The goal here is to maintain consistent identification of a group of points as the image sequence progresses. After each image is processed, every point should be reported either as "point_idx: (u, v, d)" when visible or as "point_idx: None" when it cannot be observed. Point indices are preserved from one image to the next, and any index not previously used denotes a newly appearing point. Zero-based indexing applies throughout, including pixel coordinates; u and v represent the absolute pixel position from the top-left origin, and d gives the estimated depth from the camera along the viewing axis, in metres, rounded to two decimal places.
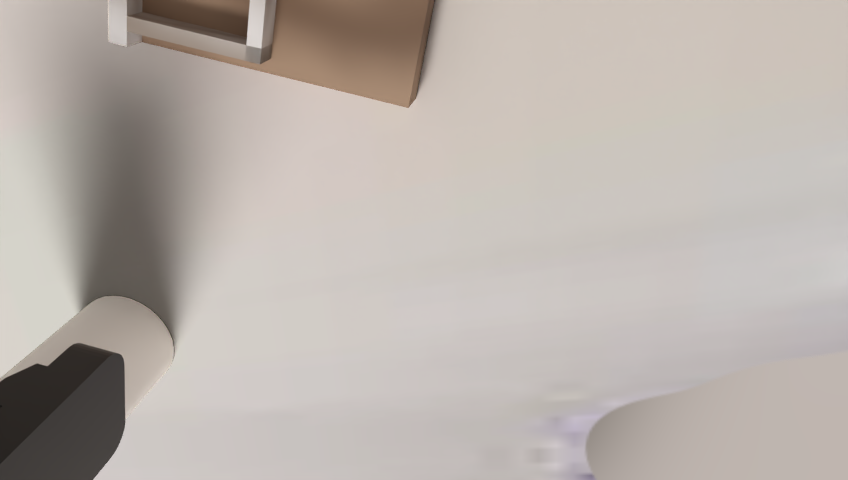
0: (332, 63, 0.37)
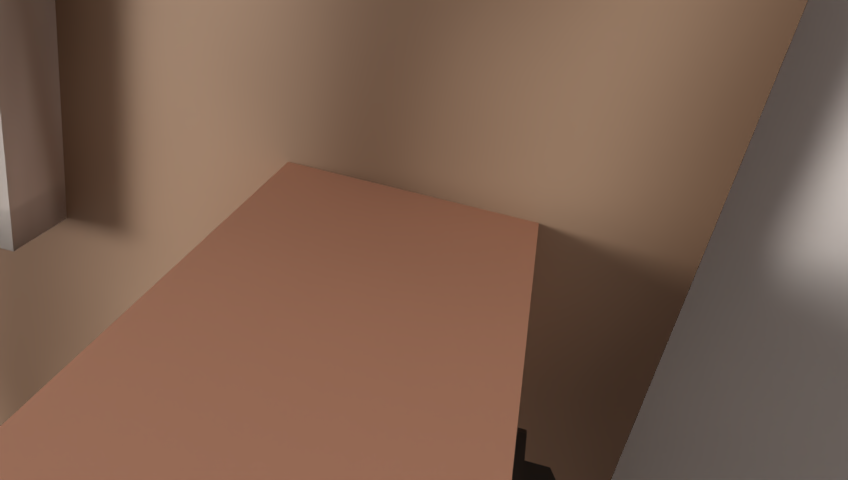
0: None
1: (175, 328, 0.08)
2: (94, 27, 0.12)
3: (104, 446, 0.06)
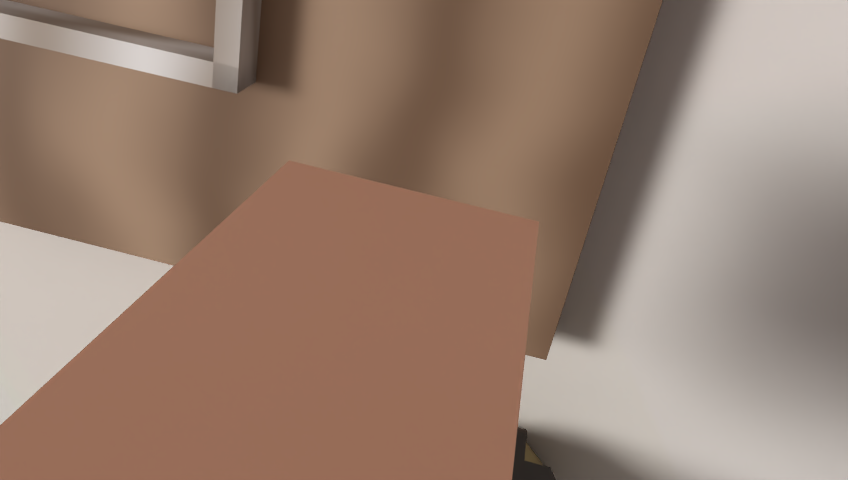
0: None
1: (177, 325, 0.08)
2: None
3: (106, 442, 0.06)
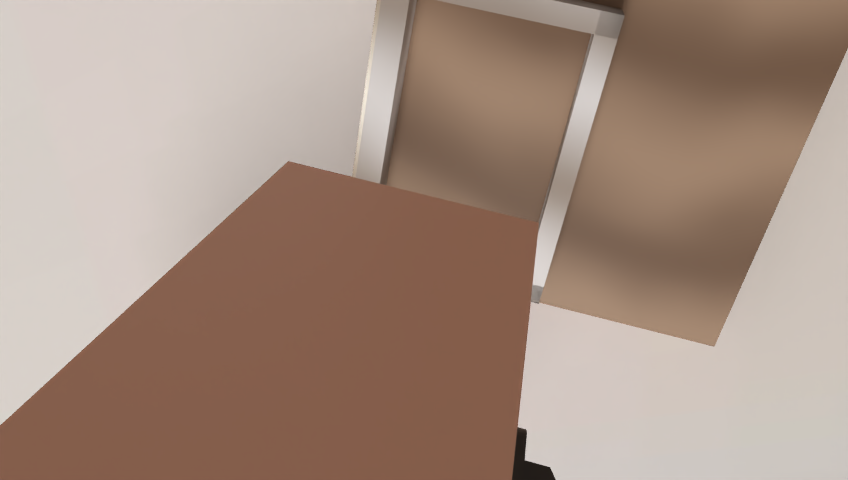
0: (621, 294, 0.30)
1: (175, 327, 0.08)
2: None
3: (104, 445, 0.06)
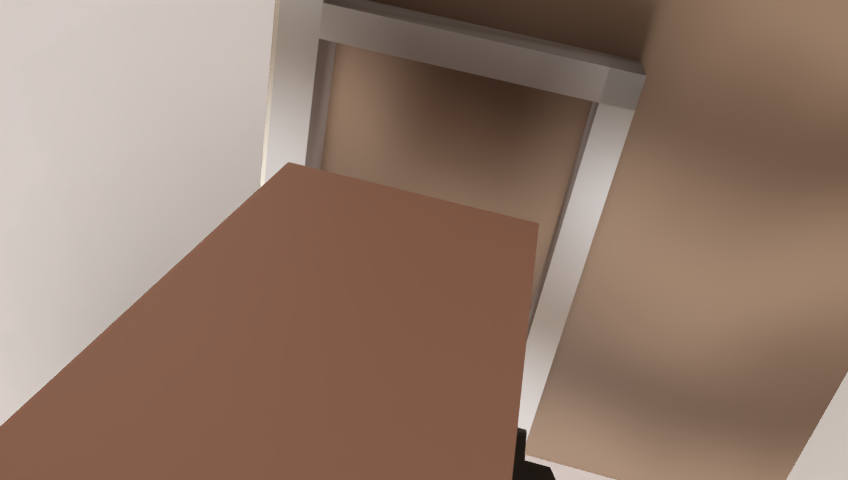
0: (634, 448, 0.21)
1: (175, 328, 0.08)
2: None
3: (104, 446, 0.06)
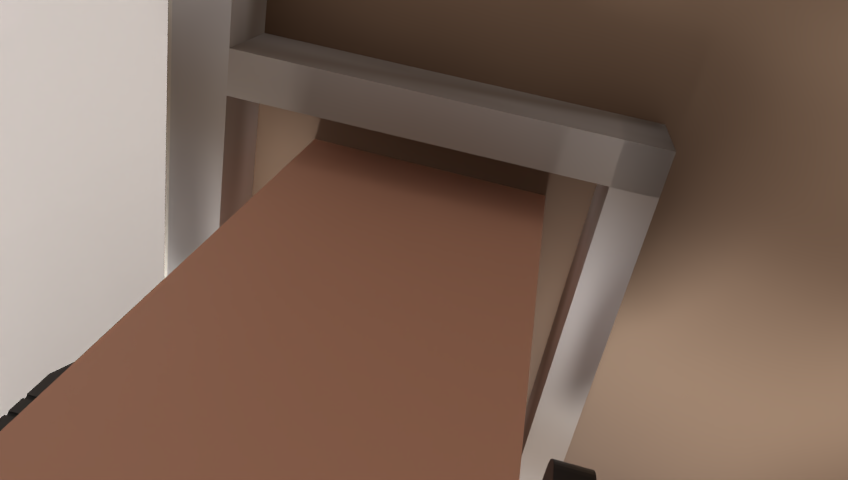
0: None
1: (229, 274, 0.09)
2: (456, 34, 0.12)
3: (181, 362, 0.07)
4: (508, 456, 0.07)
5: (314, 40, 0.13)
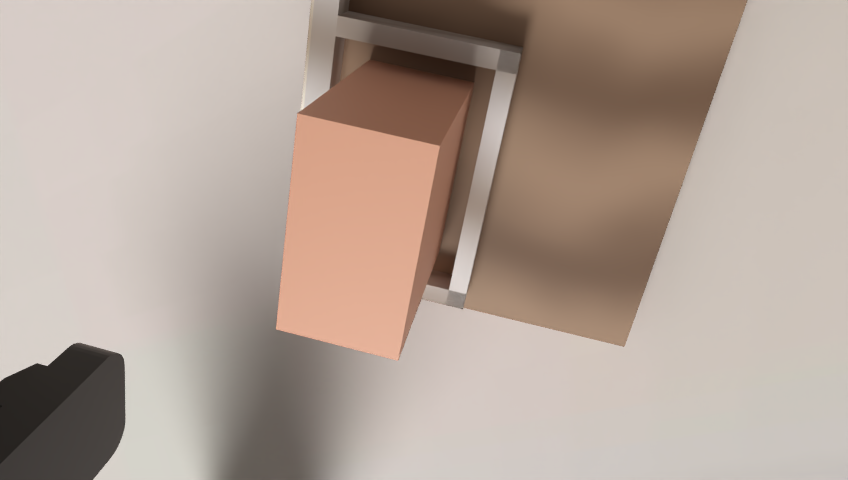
0: (539, 300, 0.33)
1: (350, 90, 0.25)
2: (432, 9, 0.29)
3: (344, 104, 0.24)
4: (445, 127, 0.23)
5: (370, 13, 0.29)
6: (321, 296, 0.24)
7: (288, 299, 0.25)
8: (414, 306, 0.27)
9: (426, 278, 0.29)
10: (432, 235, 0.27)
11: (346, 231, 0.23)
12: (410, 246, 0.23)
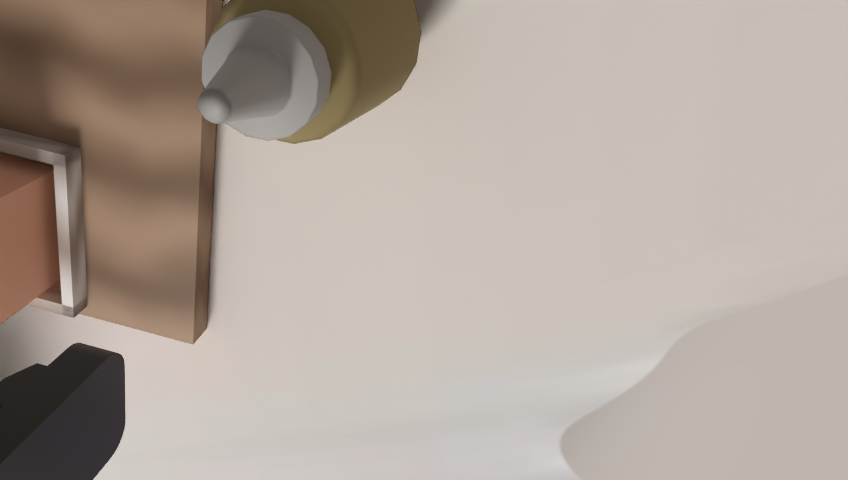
0: (133, 311, 0.48)
1: None
2: (21, 122, 0.43)
3: None
4: None
5: None
6: None
7: None
8: None
9: (21, 298, 0.44)
10: (3, 272, 0.42)
11: None
12: None
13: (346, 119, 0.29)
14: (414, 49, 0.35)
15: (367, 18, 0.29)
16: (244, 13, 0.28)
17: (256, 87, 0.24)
